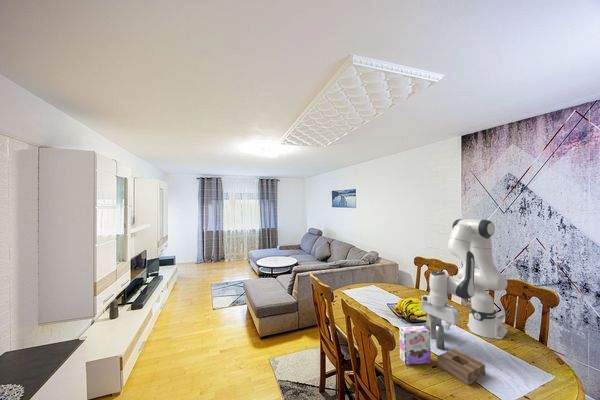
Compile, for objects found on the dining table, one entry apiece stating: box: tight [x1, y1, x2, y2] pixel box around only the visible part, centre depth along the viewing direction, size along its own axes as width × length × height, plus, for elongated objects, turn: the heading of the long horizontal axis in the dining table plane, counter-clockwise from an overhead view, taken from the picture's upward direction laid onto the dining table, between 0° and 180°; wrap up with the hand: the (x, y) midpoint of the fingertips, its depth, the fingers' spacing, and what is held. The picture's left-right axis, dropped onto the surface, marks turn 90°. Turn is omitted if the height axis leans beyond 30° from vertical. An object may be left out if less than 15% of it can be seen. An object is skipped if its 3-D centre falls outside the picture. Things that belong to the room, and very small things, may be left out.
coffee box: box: [425, 312, 443, 340], centre depth 144 cm, size 9×6×16 cm
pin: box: [435, 324, 446, 351], centre depth 131 cm, size 4×4×12 cm
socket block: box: [436, 348, 486, 386], centre depth 113 cm, size 14×14×5 cm
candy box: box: [398, 325, 432, 366], centre depth 121 cm, size 14×6×16 cm, turn 94°
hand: (439, 325), depth 131 cm, fingers open, 8 cm apart
